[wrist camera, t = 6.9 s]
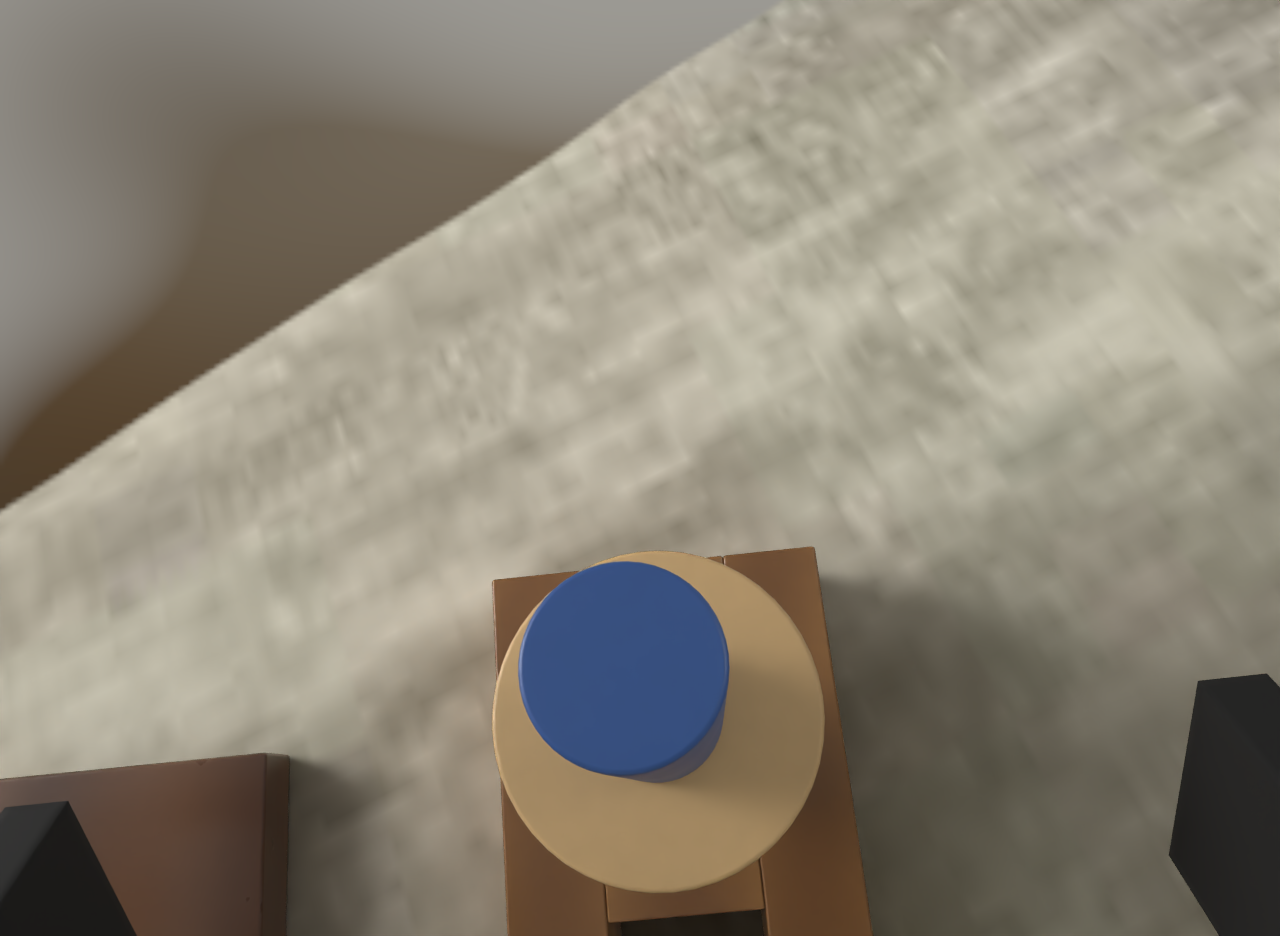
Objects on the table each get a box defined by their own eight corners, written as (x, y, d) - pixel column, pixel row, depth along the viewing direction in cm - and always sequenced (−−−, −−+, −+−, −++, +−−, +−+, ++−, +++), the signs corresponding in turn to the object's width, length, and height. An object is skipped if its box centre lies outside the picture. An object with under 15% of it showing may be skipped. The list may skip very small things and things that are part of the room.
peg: (774, 609, 26) (847, 389, 12) (807, 851, 24) (940, 931, 10) (550, 632, 26) (359, 443, 12) (565, 873, 24) (360, 984, 10)
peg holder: (803, 572, 26) (814, 545, 24) (889, 1156, 22) (915, 1210, 19) (515, 602, 27) (491, 579, 24) (544, 1184, 22) (520, 1241, 20)
